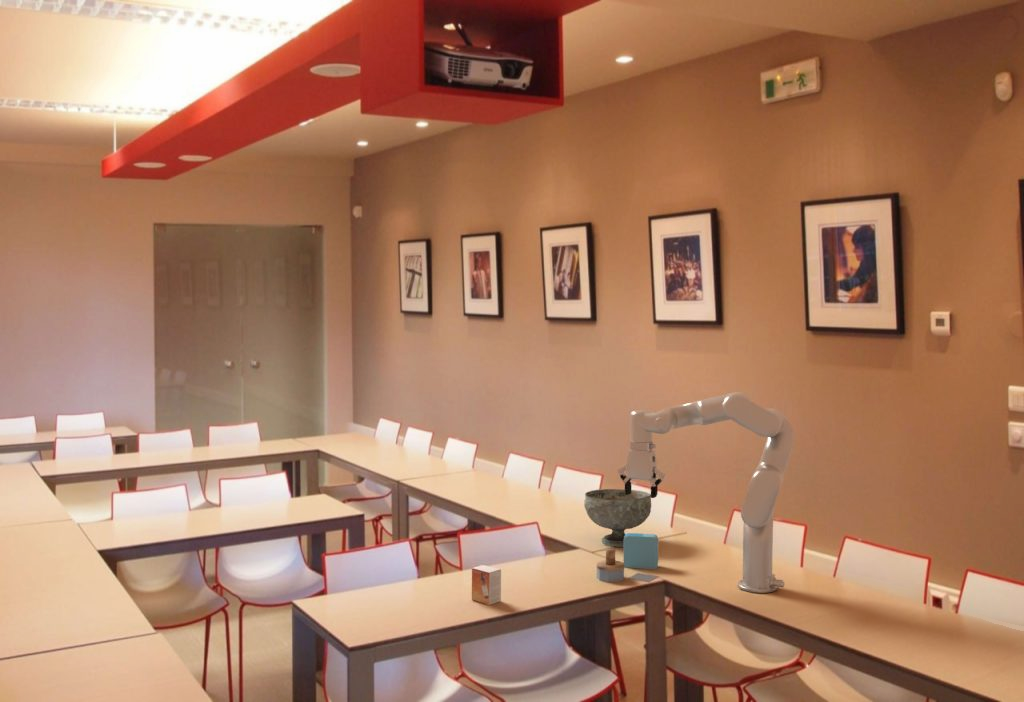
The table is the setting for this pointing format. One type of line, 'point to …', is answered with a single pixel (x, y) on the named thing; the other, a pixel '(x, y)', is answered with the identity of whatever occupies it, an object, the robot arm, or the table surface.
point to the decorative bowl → (617, 511)
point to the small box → (486, 584)
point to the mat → (643, 577)
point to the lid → (610, 562)
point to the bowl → (610, 575)
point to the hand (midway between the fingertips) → (640, 495)
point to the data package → (640, 551)
